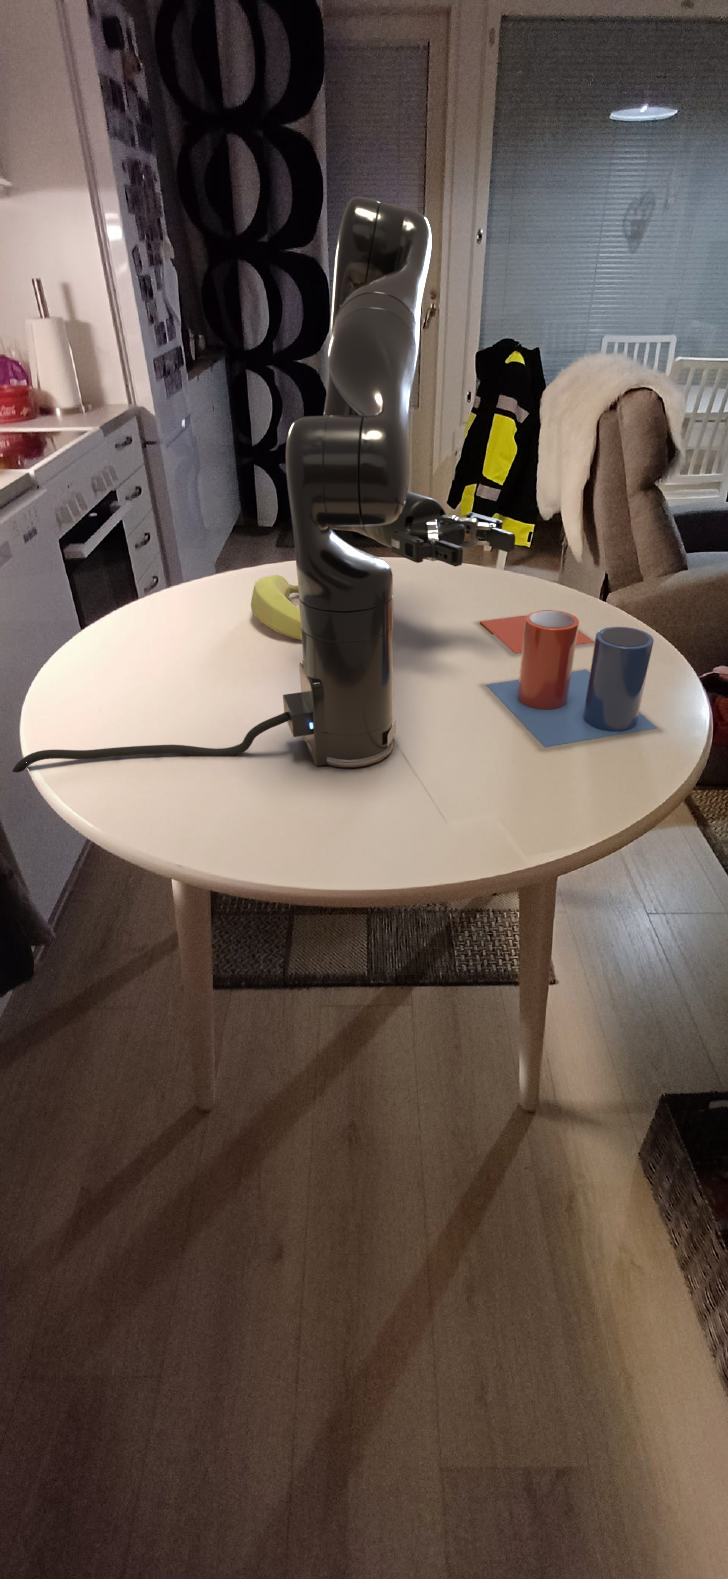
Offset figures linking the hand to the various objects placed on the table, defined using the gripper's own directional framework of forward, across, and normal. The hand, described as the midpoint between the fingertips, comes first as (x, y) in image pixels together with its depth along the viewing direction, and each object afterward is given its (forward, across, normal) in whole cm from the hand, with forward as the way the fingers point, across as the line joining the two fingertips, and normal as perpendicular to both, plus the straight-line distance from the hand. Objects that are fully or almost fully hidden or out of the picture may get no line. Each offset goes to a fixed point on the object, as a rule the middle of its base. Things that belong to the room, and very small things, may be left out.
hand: (487, 550), depth 93 cm
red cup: (+11, 0, +15) cm, 19 cm away
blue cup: (+20, +2, +15) cm, 25 cm away
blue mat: (+14, +1, +15) cm, 21 cm away
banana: (-31, -9, +16) cm, 36 cm away
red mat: (-4, +14, +16) cm, 22 cm away
